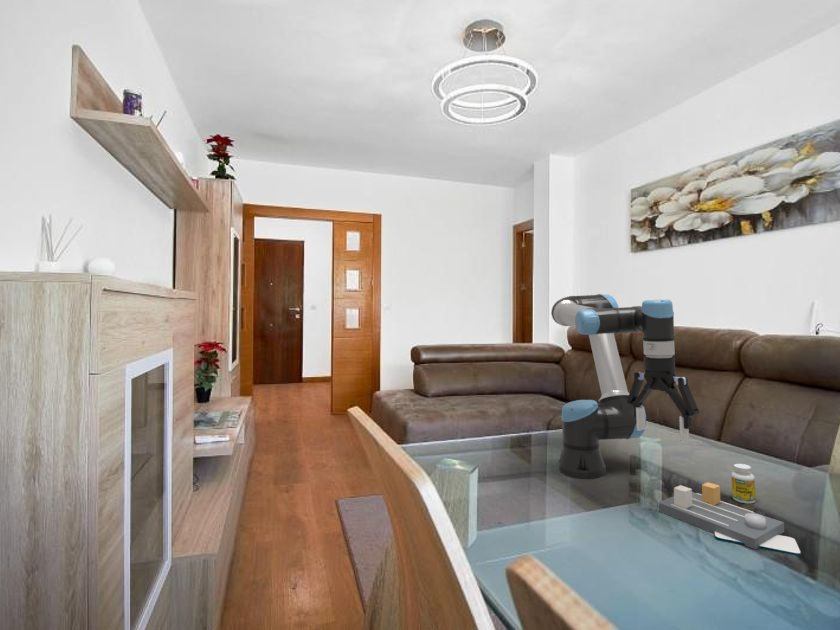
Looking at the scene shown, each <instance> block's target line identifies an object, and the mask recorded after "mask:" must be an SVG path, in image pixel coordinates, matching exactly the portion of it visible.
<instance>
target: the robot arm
mask: <svg viewBox="0 0 840 630" xmlns="http://www.w3.org/2000/svg"><path fill="white" fill-rule="evenodd" d="M673 305H674V304H673V301H672V300H670V299H648V300H643V301H642V303H641V305H635V306H627V307H624V306H623V307H619V304H618V303H617V301H616V299H615V298H614V296H613V295H610V294H601V293H598V294H590V295H589V294H588V295H570V296H565V297H562V298H560V299H558V300H557V301H556V302H555V303H553V306H552V308H551V313H550V315H551V317H552V320H553V321H554V322H555V323H556V324H557V325H560V326H562V327H574V328H575V329H576V331H577V332H578V334H580V335H588V338H589V342H590V346H591V351H592V355H593V360H594V365H595V370H596V375H597V379H598V384H599V389H600V393H601V397H600V398H599V399H598V402H597V400H594V399H577V400H572V401H569V402H567V403H565V404H564V405H563V406H562V408H561V426H562V427H561V428H562V429H561V431H562V433H561V434H562V450H561V453H560V457H559V459H558V470H559V472H561V474H563V475H566V476H568V477H572V478H577V479H587V480H588V479H597V478H601V477H603V476H605V475H606V473H607V469H606V468H607V465H606V463H605V462H604V459H603V456H602V453H601V450H600V440H601V441H602V440H603V441H604V440H629V439H638V438H640V437H642V436H643V434H644V433H645V431H646V426H647V414H646V410H645V406H644V403H645V401H646V400H647V398H648V397H649V396H650V394H651V393H652V391H653V390H655V391H661V392H665V393H666V394H667V395H668V396H669V397H670V399H671V401H673V403H674V405H675V406H676V408H677V410H678V411H679V412H680V414H681V415H680V416H679V419H678V422H679V441H680V442H686V441H689V440H690V435H689V433H690V430H689V429H692V425H693V424H692V417H693V416H696V415H699V414H700V410H699V407H698V406H697V403H696V400H695V399H694V396H693V394H692V391H691V389H690V387H689V381H688V380H689V379H688V377H687V376H676V373H675V370H676V358H675V357H674V356H675V354H676V352H675V349H676V348H675V330H674V329H675V320H674V319H675V317H674V314H675V313H674V308H673V307H674V306H673ZM628 333H630V334H631V333H632V334H633V333H642V343H643V344H642V345H643V347H642V348H643V355H645V356H644V357H643V369H644V372H643V371H636V372H634V373H633V382H632V385H631V388H630V391H628V385H627V382H626V379H625V373H624V369H623V366H622V362H621V357H620V355H619V353H620V352H619V350H618V346H617V345H618V344H617V341H616V338H615V334H628ZM644 380H645V381H646V383H645V384H644V386H643V383H644ZM675 384H676V385H677V386H676V385H675ZM642 386H643V388H642ZM677 387H678V388H677ZM641 388H642V390H641ZM640 391H641V392H640ZM678 391H679V392H678Z"/></svg>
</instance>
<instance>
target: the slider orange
mask: <svg viewBox="0 0 840 630" xmlns="http://www.w3.org/2000/svg"><path fill="white" fill-rule="evenodd" d="M701 494H702V501H703V502H705V503H708V504H711V505H716V504H719V503H721V502H720V501H721V485H718V484H716V483H712V482H708V481H707V482H705V483H702V484H701Z"/></svg>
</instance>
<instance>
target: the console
mask: <svg viewBox="0 0 840 630" xmlns="http://www.w3.org/2000/svg"><path fill="white" fill-rule="evenodd" d="M720 502H721V503H719V504H716V505H711V504H708V503H705V502H703V501H702V493H698V492H694V491H692V506H691V507H689V508H687V509H685V508H682V507H679V506H677V505H674V495H673V496H670V497H668V498H666V499H664V500H661V501H659V502H658V512H659V513H662V514H665V515H667V516H670V517H673V518H675V519H677V520H679V521H683V522H685V523H688V524H689V525H692V526H695V527H697V528H700V529H703V530H704V531H705V530H706V531H708V532H710V533H712V534H714V531H716V532H718V533H721V534H723V535H725V536H728V537H730V538H733V539H735V540H738V541H740V542H743V543H744V544H745V546H744V547H747V548H750V549H753V550H755V551H756V550H757V549H759V548H758V546H759V545H761V544H762V543H764V542H766V541H768V540H769V539H771V538H773V537H775V536H776V535H783V533H785V522H784V521H781V520H777V519H775V518H771V517H768V516H766V515H763V514H760V513H757V512H754V511H752V510H749V509H747V508H743V507H740V506H737V505H735V504H731V503H729V502H725V501H723V500H720Z"/></svg>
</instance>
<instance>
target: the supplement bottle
mask: <svg viewBox="0 0 840 630" xmlns="http://www.w3.org/2000/svg"><path fill="white" fill-rule="evenodd" d="M730 475H731V493H732V499H733V500H734V501H736V502H738V503H742V504H747V505H748V504H749V505H750V504H754V503H756V501H757V499H756V498H757V495H756V494H757V493H756V477H755V475H754V474H753V473H752V466H751V465H748V464H745V463H735V464H733V471H731V474H730Z"/></svg>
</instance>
